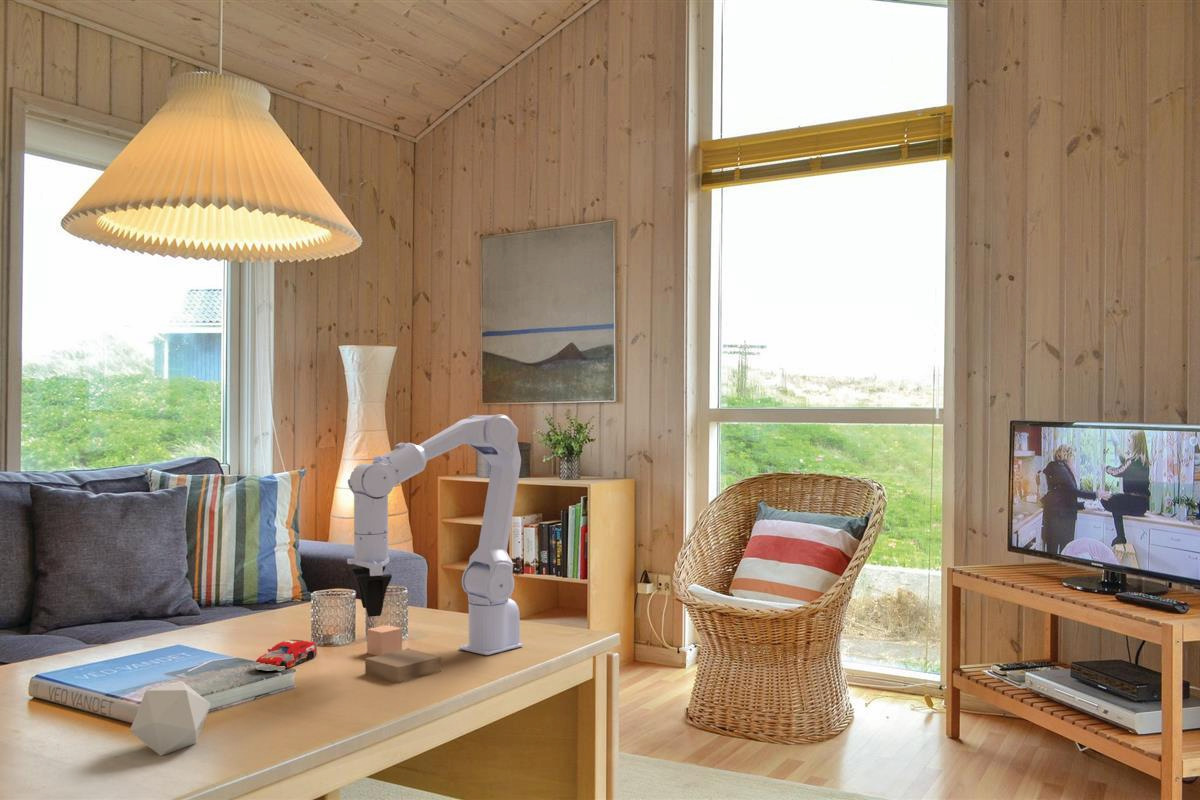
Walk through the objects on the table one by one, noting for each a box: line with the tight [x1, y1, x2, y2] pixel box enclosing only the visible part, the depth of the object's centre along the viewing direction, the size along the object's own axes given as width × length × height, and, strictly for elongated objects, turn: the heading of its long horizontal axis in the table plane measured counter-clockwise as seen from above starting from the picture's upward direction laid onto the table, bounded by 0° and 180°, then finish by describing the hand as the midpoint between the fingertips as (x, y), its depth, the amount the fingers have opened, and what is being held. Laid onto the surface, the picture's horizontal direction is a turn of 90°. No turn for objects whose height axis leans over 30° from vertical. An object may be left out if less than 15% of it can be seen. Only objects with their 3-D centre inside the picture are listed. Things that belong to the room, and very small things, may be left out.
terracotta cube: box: [366, 624, 403, 656], centre depth 174 cm, size 4×4×4 cm
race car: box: [255, 639, 318, 668], centre depth 166 cm, size 13×5×4 cm, turn 160°
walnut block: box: [364, 648, 442, 684], centre depth 160 cm, size 9×9×3 cm
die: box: [129, 680, 212, 756], centre depth 124 cm, size 8×9×10 cm
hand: (371, 611), depth 162 cm, fingers open, 7 cm apart
